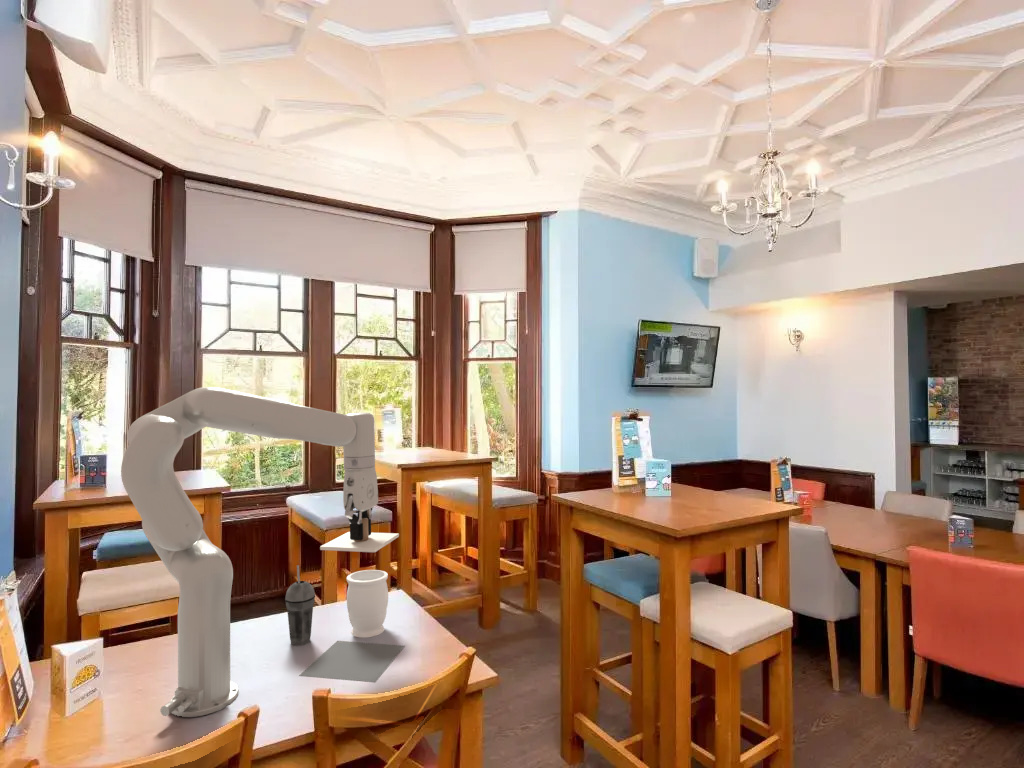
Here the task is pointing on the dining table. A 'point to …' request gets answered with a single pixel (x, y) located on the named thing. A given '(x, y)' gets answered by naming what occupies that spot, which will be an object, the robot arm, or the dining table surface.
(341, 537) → the lid
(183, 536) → the robot arm
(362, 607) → the jar
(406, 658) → the dining table surface
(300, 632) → the beverage cup
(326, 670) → the mat
